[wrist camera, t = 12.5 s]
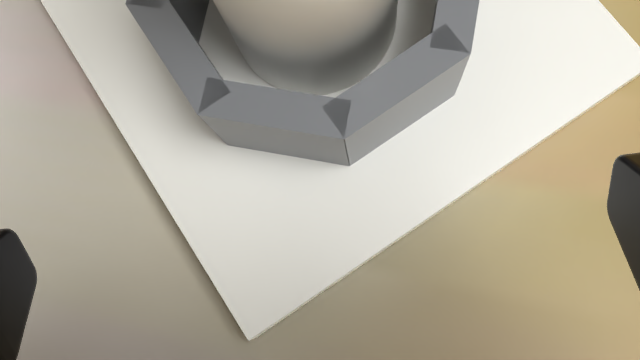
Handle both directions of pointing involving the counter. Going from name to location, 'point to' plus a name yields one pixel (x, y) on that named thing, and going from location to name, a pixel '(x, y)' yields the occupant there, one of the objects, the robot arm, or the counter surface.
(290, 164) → the collar
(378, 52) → the canister
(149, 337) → the counter surface
